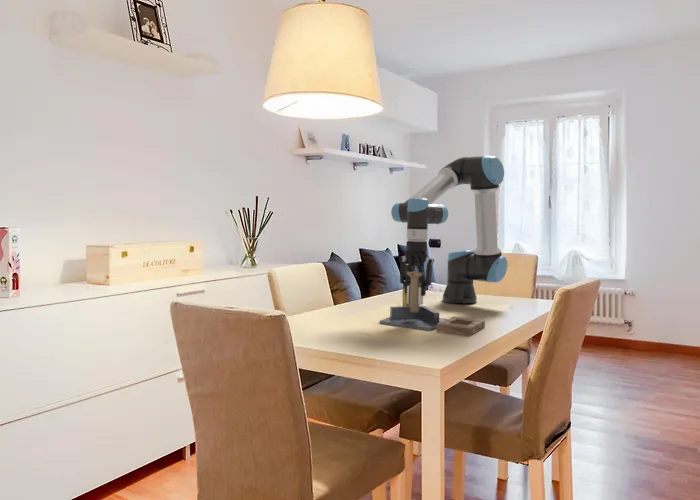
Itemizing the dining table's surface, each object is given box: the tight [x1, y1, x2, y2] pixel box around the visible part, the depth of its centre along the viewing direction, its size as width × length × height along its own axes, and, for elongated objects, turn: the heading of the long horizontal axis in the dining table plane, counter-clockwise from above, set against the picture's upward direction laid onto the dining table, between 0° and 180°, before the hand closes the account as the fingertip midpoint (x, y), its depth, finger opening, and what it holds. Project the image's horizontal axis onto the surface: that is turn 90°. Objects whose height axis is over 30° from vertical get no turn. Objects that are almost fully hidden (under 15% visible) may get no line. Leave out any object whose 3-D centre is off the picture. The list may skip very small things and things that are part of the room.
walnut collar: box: [436, 316, 486, 337], centre depth 203 cm, size 16×12×2 cm
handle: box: [407, 270, 425, 313], centre depth 211 cm, size 5×6×15 cm
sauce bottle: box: [402, 263, 416, 306], centre depth 229 cm, size 7×6×20 cm
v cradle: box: [379, 305, 448, 331], centre depth 212 cm, size 18×20×5 cm
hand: (414, 303), depth 211 cm, fingers closed on handle, 4 cm apart
